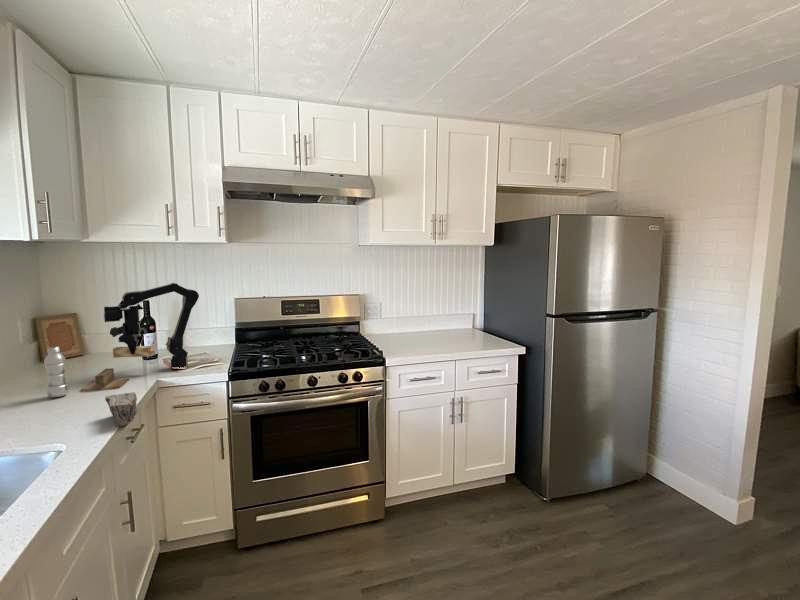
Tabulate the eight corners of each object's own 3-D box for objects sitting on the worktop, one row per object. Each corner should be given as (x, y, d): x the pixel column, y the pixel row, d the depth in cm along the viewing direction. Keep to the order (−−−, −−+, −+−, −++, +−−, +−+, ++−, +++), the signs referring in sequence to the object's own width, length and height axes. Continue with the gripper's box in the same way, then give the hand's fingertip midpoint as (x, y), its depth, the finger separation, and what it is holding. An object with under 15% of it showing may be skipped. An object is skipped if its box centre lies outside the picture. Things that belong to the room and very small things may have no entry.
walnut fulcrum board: (129, 380, 188) (128, 366, 187) (119, 388, 176) (118, 374, 176) (92, 382, 184) (91, 369, 183) (80, 391, 172) (79, 377, 172)
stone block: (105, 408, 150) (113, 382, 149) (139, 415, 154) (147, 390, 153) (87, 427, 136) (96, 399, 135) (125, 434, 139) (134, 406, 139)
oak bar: (155, 354, 197) (154, 345, 196) (151, 356, 193) (150, 347, 192) (117, 355, 194) (117, 346, 194) (113, 357, 190) (112, 348, 190)
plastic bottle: (47, 396, 167) (41, 347, 165) (68, 392, 172) (63, 344, 169) (47, 400, 162) (41, 350, 160) (69, 396, 167) (64, 347, 164)
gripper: (118, 317, 198) (121, 349, 200) (103, 324, 180) (106, 359, 182) (145, 316, 201) (148, 348, 203) (132, 322, 183) (135, 357, 185)
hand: (134, 353), depth 193 cm, fingers closed on oak bar, 4 cm apart
